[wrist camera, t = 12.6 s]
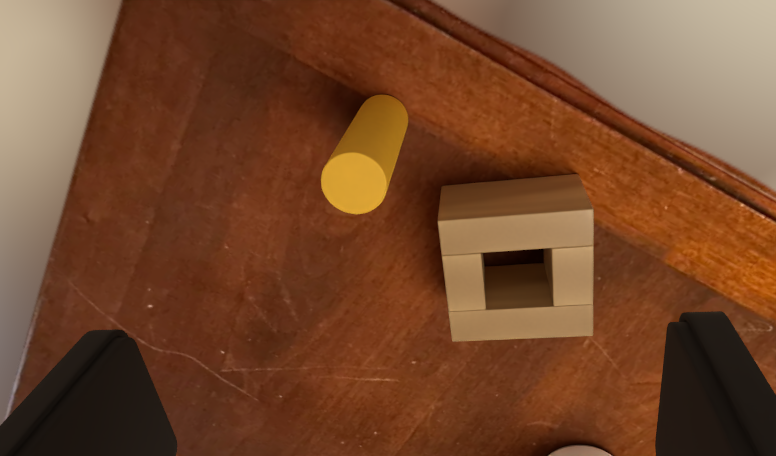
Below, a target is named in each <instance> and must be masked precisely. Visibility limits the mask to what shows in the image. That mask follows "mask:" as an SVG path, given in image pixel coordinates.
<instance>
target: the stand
mask: <svg viewBox="0 0 776 456" xmlns="http://www.w3.org/2000/svg"><path fill="white" fill-rule="evenodd" d="M437 222H438V230H439V238H440V246H441V254H442V263H443V271H444V279H445V287H446V295H447V303H448V310H449V320H450V328H451V336H452V341H478V340H502V339H526V338H551V337H575V336H593V254H594V246H593V244H594V209H593V207H592V204H591V202H590V200H589V198H588V195H587V193H586V191H585V188H584V186H583V184H582V181H581V179H580V177H579V175H578V174H571V175H560V176H548V177H537V178H526V179H514V180H503V181H492V182H480V183H469V184H458V185H446V186H442V187H441V195H440V204H439V213H438V221H437ZM531 249H543V253H544V263H533V264H518V265H502V266H486V267H484V256H483V253H486V252H501V251H516V250H531Z"/></svg>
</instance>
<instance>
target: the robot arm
mask: <svg viewBox="0 0 776 456" xmlns="http://www.w3.org/2000/svg"><path fill="white" fill-rule="evenodd" d="M655 446H656V456H776V395H775V393H774V392H773V390H772V388H771V387H770V385H769V383H768V382H767V380H766V379H765V377H764V375H763V374H762V372H761V371H760V369H759V367H758V366H757V364H756V362H755V361H754V359H753V358H752V356H751V354H750V353H749V351H748V349H747V348H746V346H745V345H744V343H743V341H742V340H741V338H740V337H739V335H738V333H737V332H736V330H735V328H734V327H733V325H732V324H731V322H730V320H729V319H728V317H727V316H726V315H725V313H723V312H687V313H682V314H681V316H680V319H679V322H670V323H669V324H668V327H667V334H666V344H665V354H664V364H663V373H662V383H661V393H660V403H659V412H658V422H657V432H656V444H655ZM176 452H177V440H176V437H175V435H174V432H173V430H172V427H171V425H170V423H169V420H168V418H167V415H166V413H165V411H164V408H163V406H162V404H161V401H160V399H159V396H158V394H157V392H156V389H155V387H154V384H153V382H152V380H151V377H150V375H149V373H148V370H147V368H146V365H145V363H144V361H143V358H142V356H141V353H140V351H139V349H138V346H137V344H136V342H135V340H134V339H132V338H130V337H128V335H127V333H125V332H124V331H123V330H93V331H89V332H87V333H86V334H85V335H84V336H83V337H82V338H81V339H80V340H79V341H78V342H77V343H76V344H75V345H74V346H73V348H72V349H71V350H70V351H69V352H68V353H67V354H66V355H65V356H64V357H63V358H62V359H61V361H60V362H59V363H58V364H57V365H56V366H55V367H54V368H53V369H52V370H51V371H50V372H49V374H48V375H47V376H46V377H45V378H44V379H43V380H42V381H41V382H40V383H39V384H38V385H37V387H36V388H35V389H34V390H33V391H32V392H31V393H30V394H29V395H28V396H27V397H26V398H25V400H24V401H23V402H22V403H21V404H20V405H19V406H18V407H17V408H16V409H15V410H14V411H13V413H12V414H11V415H10V416H9V417H8V418H7V419H6V420H5V421H4V422H3V423H2V424H1V426H0V456H176Z"/></svg>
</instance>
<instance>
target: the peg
mask: <svg viewBox="0 0 776 456" xmlns="http://www.w3.org/2000/svg"><path fill="white" fill-rule="evenodd" d="M407 126H408V114H407V111H406V109H405V107H404V106H403V104H402V103H401V102H400V101H399V100H397V99H396V98H394V97H392V96H389V95H375V96H373V97H370V98H369V99H367V100H366V101H365V102H364V103H363V105H362V106H361V108H360V109H359V111H358V113H357V114H356V116H355V118H354V119H353V121H352V122H351V124H350V126H349V127H348V129H347V131H346V132H345V134H344V136H343V137H342V139H341V140H340V142H339V144H338V145H337V147H336V149H335V150H334V152H333V154H332V155H331V157H330V158H329V160H328V162H327V163H326V165H325V167H324V169H323V171H322V175H321V186H322V190H323V192H324V195H325V196H326V198H327V199H328V201H329V202H330V203H331V204H332V205H333V206H335V207H336V208H337V209H339V210H341V211H343V212H346V213H351V214H362V213H366V212H369V211H371V210H373V209H375V208H376V207H377V206H379V205H380V203H381V202H382V201H383V199H384V197H385V195H386V192H387V189H388V186H389V182H390V179H391V176H392V173H393V170H394V167H395V164H396V161H397V157H398V154H399V151H400V148H401V145H402V142H403V139H404V135H405V132H406V129H407Z"/></svg>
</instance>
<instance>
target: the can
mask: <svg viewBox="0 0 776 456" xmlns="http://www.w3.org/2000/svg"><path fill="white" fill-rule="evenodd" d="M548 456H612V455H611V454H609V453H607V452H605V451H604V450H602V449H599V448H597V447H594V446H589V445H569V446H565V447H562V448H559V449H557V450H555V451H553V452H552V453H550V454H549V455H548Z"/></svg>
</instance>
